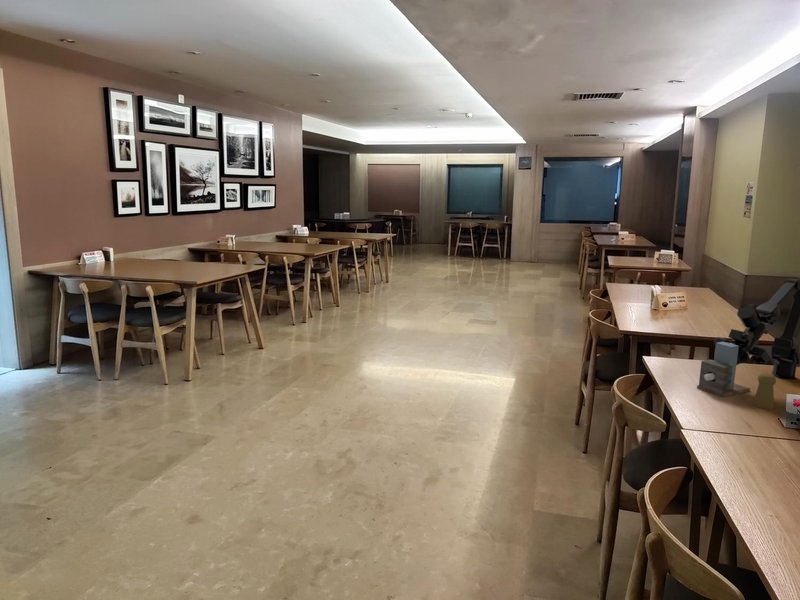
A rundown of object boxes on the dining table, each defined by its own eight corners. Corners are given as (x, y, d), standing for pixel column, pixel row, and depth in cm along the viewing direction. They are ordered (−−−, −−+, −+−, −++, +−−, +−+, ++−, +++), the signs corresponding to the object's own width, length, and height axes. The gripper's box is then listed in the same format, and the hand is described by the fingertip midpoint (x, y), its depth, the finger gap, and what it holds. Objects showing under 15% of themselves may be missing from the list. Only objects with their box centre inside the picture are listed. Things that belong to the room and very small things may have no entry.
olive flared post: (777, 408, 192) (782, 377, 190) (759, 408, 192) (763, 377, 190) (766, 402, 198) (771, 371, 196) (749, 401, 198) (753, 371, 196)
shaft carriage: (718, 383, 213) (723, 341, 210) (733, 388, 208) (738, 345, 205) (698, 387, 209) (703, 344, 206) (713, 392, 203) (718, 349, 200)
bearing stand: (724, 382, 218) (727, 355, 216) (749, 390, 209) (753, 362, 207) (696, 388, 211) (699, 360, 209) (722, 396, 203) (725, 368, 201)
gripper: (719, 316, 217) (696, 347, 214) (769, 327, 200) (745, 361, 198) (730, 334, 222) (708, 365, 219) (780, 346, 205) (756, 380, 203)
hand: (728, 367), depth 209 cm, fingers closed, pressing on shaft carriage
